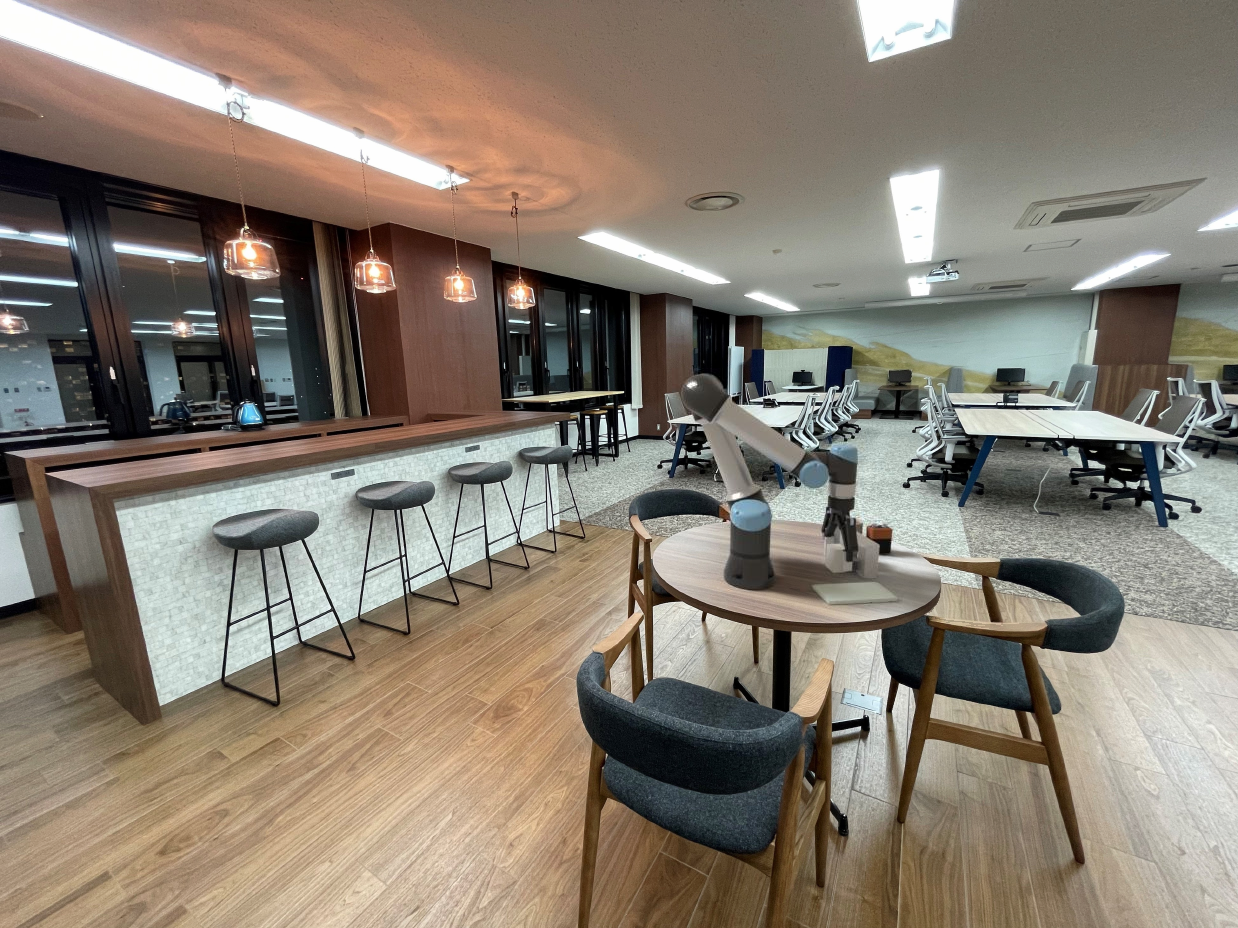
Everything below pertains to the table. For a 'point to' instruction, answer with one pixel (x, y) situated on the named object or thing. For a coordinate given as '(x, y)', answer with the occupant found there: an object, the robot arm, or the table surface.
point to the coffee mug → (837, 532)
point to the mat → (854, 593)
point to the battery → (880, 536)
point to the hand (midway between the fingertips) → (837, 563)
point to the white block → (837, 558)
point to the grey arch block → (866, 556)
